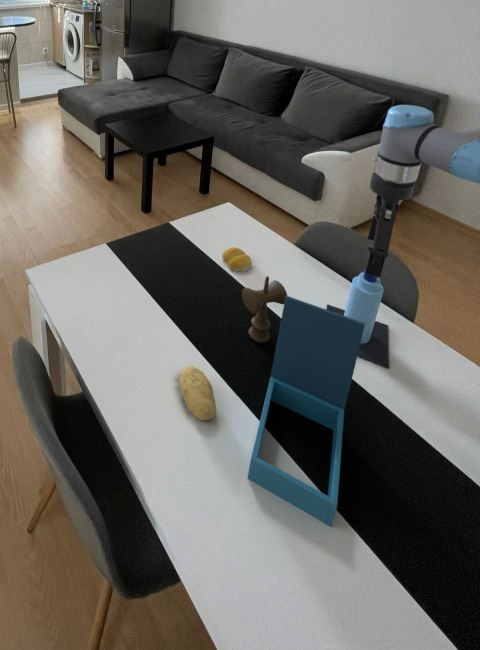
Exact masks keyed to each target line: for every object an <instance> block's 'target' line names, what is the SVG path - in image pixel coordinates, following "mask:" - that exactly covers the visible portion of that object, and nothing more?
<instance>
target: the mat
mask: <svg viewBox="0 0 480 650" xmlns="http://www.w3.org/2000/svg"><path fill="white" fill-rule="evenodd" d="M326 305H327V306H326V310H329V311H332V312H334V313H337V314H340V315H343V316H344V313H345V309H342V308H340V307H336V306H334V305H331V304H326ZM389 349H390V347H389V325H388V324H385V323H383V322H380V321H378V320H375V323H374V327H373V330H372V334H371V337H370V340H369V341H368V342H367V343H363V344H362V343H360V348H359V352H358V356H357V358H359V359H362V360H365V361H367V362H370V363H373V364H375V365H378V366H381V367H383V368H385V369H387V370H388V369H390V353H389V352H390V351H389Z"/></svg>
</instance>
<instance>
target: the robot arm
mask: <svg viewBox="0 0 480 650" xmlns="http://www.w3.org/2000/svg"><path fill="white" fill-rule="evenodd" d="M434 121H435V114H434V112H433V111H431V110H429V109H428V108H427V107H422V106H419V105H413V104H398V105H394V106H392V107H390V108H389V109H388V111H387V114H386V117H385V119H384V123H383V125H382V132H381V137H380V142H379V146H378V151H377V155H376V157H373V158H372V160H371V161H372V162H373V163H375V164H374V168H373V172H372V175H371V179H370V183H369V188H370V191H372V192H373V193H374V194H376V198H375V204H374V207H373V208H374V209H373V215H372V219H371V222H370V226H369V231H368V235H367V240H370V241H373V244H372V246H371V247H370V246H368V247H367V251H369V255H368V259H367V263H366V264H367V265H366V267H365V268H366V271H365V273H366V274H370V275H373V276H376V277H378V278H381V276H382V272H383V268H384V265H385V261H386V258H388V257H389V249H390V244H391V239H392V234H393V229H394V224H395V222H396V219H397V215H398V213H397V212H398V211H399V208H400V204H399V201H407V200H409V199H410V198H412V197H413V194H414V189H415V186H416V181H417V180H418V177H419V172H420V169H421V166H422V163H423V164H427V165H429V166H430V167H434V168H436V169H438V170H441V171H443V172H446V173H448V174H450V175H452V176H454V177H456V178H459V179H461V180H465V181H469V182H472V183H474V184H477V185H480V127H478V128H472V129H470V130H466V131H462V132H458V131H454V130H452V129H448V128H446V127H442V126H440V125H437V124H435V123H434Z"/></svg>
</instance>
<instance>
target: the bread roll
mask: <svg viewBox="0 0 480 650" xmlns="http://www.w3.org/2000/svg"><path fill="white" fill-rule="evenodd" d="M221 258H222V261H223V262H224V264H226V265H227V267H228V268H229V269H231V271H234V272H247V271H248V270H250V268H252V264H253V263H252V262H253V261H252V259H251V257H250V256H249V255H248V254H247V253H246V252H245V251H244V250H243V249H241V248H240V247H229V248H228V249H225V250H223V252H222V255H221Z"/></svg>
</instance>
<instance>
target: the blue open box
mask: <svg viewBox="0 0 480 650" xmlns="http://www.w3.org/2000/svg"><path fill="white" fill-rule="evenodd" d="M272 402H273V403H276V404H278V405H280V406H282V407H284V408H287V409H288V410H290V411H292V412H294V413H296V414H298V415H301V416H303V417H305V418H307V419H309V420H311V421H314V422H315V423H317V424H320V425H322V426H324V427H326V428H328V429H330V430H332V432H333V433H332V434H333V435H332V444H331V454H330V463H329V464H330V465H329V477H328V486H327V487H328V488H327V494H325V493H323V492H321V491H320V490H318V489H316V488H314V487H313V486H311V485H309V484H307V483H305V482H304V481H302V480H300V479H297V478H296V477H294V476H293V475H291V474H289V473H287V472H285V471H283V470H282V469H279V468H278V467H276V466H274V465H272V464H271V463H269V462H267V461H265V460H263V459H262V458H259V456H260V450H261V447H262V442H263V438H264V433H265V430H266V429H265V428H266V425H267V420H268V416H269V412H270V408H271V403H272ZM344 421H345V409H344V408H341V407H339V406H337V405H335V404H333V403H330V402H328V401H326V400H324V399H321V398H319V397H317V396H315V395H313V394H310V393H308V392H306V391H304V390H301V389H299V388H297V387H295V386H293V385H290V384H288V383H286V382H284V381H281V380H279V379H277V378H275V377H273V376H270V379H269V382H268V387H267V391H266V394H265V399H264V403H263V407H262V411H261V416H260V419H259V423H258V427H257V432H256V436H255V440H254V443H253V448H252V452H251V456H250V462H249V467H248V474H247V479H248V480H249V481H250V482H253V483H254V484H256V485H258V486H259V487H261V488H263V489H264V490H267V491H268V492H270V493H272V494H273V495H275V496H277V497H278V498H280V499H282V500H284V501H285V502H287V503H289V504H290V505H293V506H294V507H295V508H297V509H299V510H300V511H302V512H304V513H306V514H307V515H309V516H311V517H313V518H315V519H316V520H318V521H320V522H322V523H323V524H325V525H326V526H328V527H330V528H331V527H332V526H333V522H334V518H335V516H336V511H337V509H338V504H339V503H338V502H339V501H338V500H339V486H340V473H341V459H342V449H343V447H342V446H343V433H344V432H343V431H344Z"/></svg>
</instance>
